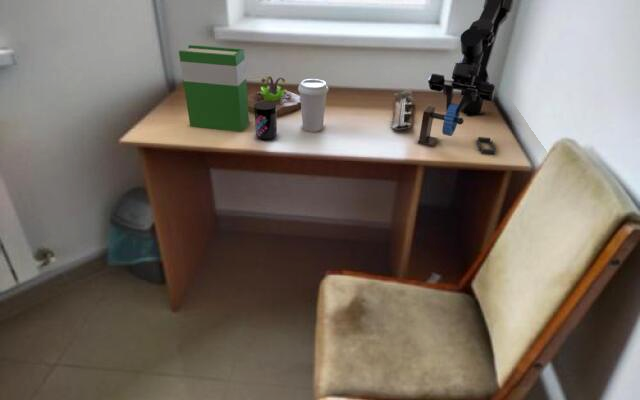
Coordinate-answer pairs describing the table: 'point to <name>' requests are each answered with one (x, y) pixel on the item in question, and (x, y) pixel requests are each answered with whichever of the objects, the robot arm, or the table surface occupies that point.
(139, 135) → the table surface
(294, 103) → the plant
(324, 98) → the coffee cup
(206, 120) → the hardback book
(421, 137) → the hook stand
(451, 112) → the blue ridged ring
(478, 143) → the tape cradle
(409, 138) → the table surface
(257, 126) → the supplement container
